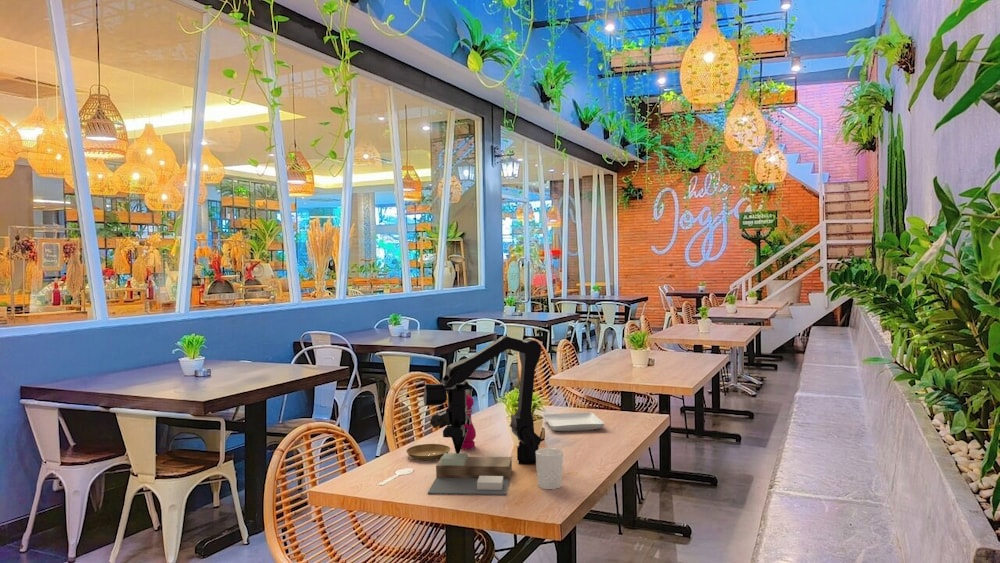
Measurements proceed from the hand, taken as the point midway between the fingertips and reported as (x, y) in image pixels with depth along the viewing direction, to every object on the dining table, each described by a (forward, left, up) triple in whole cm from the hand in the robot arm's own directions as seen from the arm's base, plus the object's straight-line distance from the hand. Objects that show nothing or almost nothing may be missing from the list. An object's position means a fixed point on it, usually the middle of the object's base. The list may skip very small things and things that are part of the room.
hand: (457, 453), depth 216 cm
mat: (-6, +18, -5) cm, 20 cm away
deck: (-6, +6, -5) cm, 10 cm away
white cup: (-29, +16, -5) cm, 34 cm away
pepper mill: (+1, -25, -5) cm, 26 cm away
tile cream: (-12, +18, -2) cm, 22 cm away
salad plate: (-37, -57, -5) cm, 68 cm away
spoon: (+18, +9, -5) cm, 21 cm away
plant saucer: (+12, -13, -5) cm, 18 cm away
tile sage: (0, +7, -1) cm, 7 cm away
